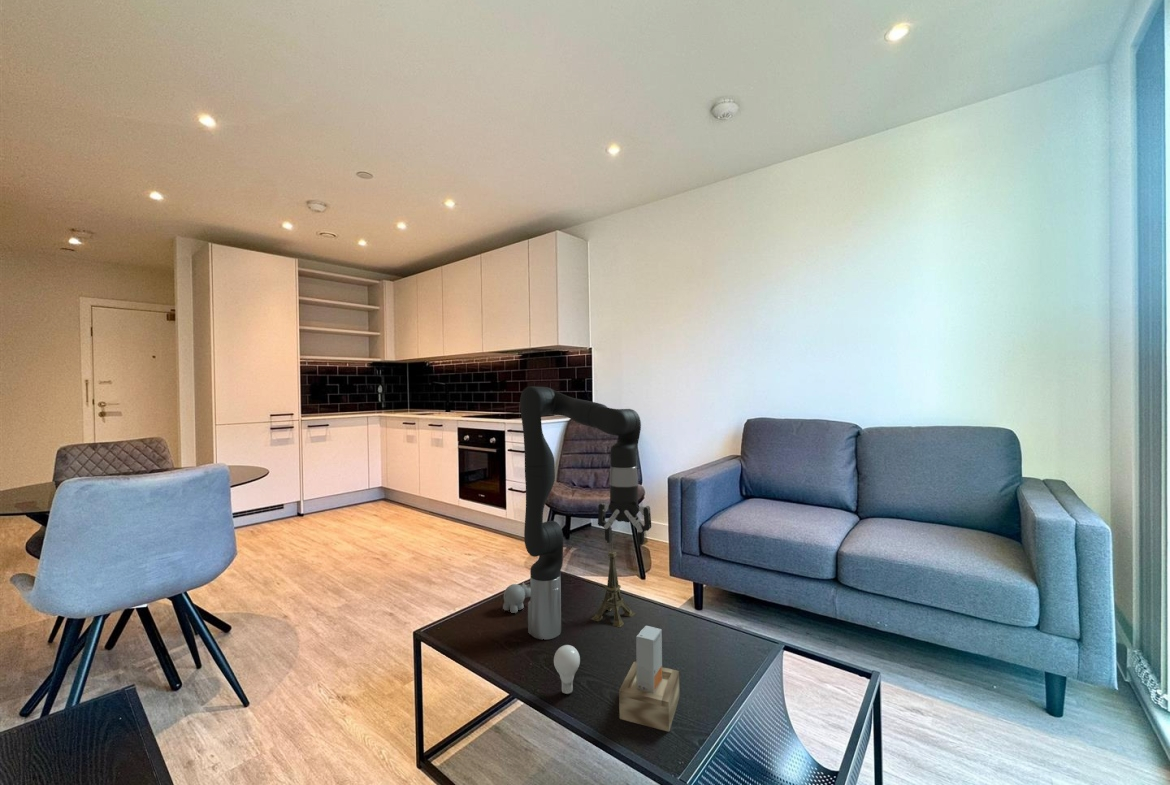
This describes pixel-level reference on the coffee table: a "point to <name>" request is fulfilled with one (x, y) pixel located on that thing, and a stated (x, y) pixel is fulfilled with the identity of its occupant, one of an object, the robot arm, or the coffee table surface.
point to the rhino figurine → (516, 597)
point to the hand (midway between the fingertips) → (624, 543)
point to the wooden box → (650, 700)
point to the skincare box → (649, 659)
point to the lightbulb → (567, 666)
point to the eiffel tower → (613, 596)
